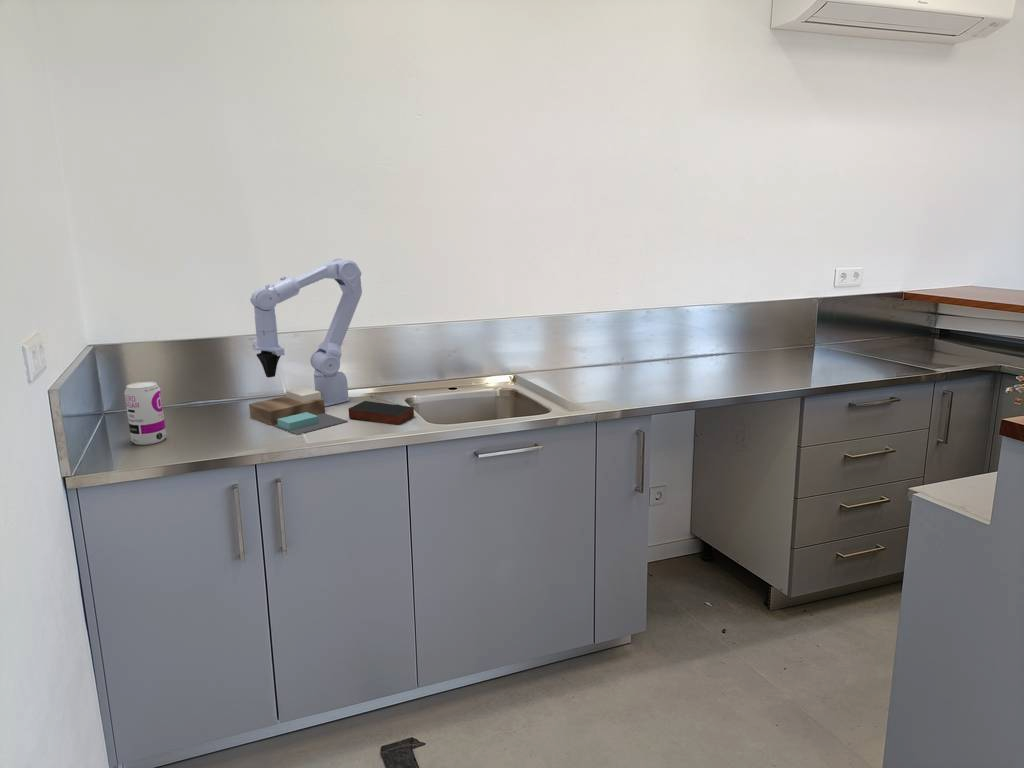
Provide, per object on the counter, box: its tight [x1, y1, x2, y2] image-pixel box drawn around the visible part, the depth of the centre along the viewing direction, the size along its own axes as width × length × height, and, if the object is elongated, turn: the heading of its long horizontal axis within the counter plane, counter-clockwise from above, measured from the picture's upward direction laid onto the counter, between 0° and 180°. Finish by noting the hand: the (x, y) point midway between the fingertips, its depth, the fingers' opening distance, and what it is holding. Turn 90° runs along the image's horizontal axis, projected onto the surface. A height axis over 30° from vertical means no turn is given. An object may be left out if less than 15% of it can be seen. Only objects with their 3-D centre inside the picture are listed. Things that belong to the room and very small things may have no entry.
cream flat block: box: [285, 386, 321, 403], centre depth 214 cm, size 9×6×2 cm, turn 47°
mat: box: [272, 412, 349, 435], centre depth 202 cm, size 16×12×1 cm
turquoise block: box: [277, 412, 319, 430], centre depth 200 cm, size 9×6×2 cm, turn 137°
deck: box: [248, 395, 326, 427], centre depth 210 cm, size 17×12×4 cm
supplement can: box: [124, 381, 167, 446], centre depth 187 cm, size 8×8×15 cm
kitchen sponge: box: [348, 395, 415, 426], centre depth 210 cm, size 19×3×15 cm
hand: (270, 376), depth 213 cm, fingers closed
